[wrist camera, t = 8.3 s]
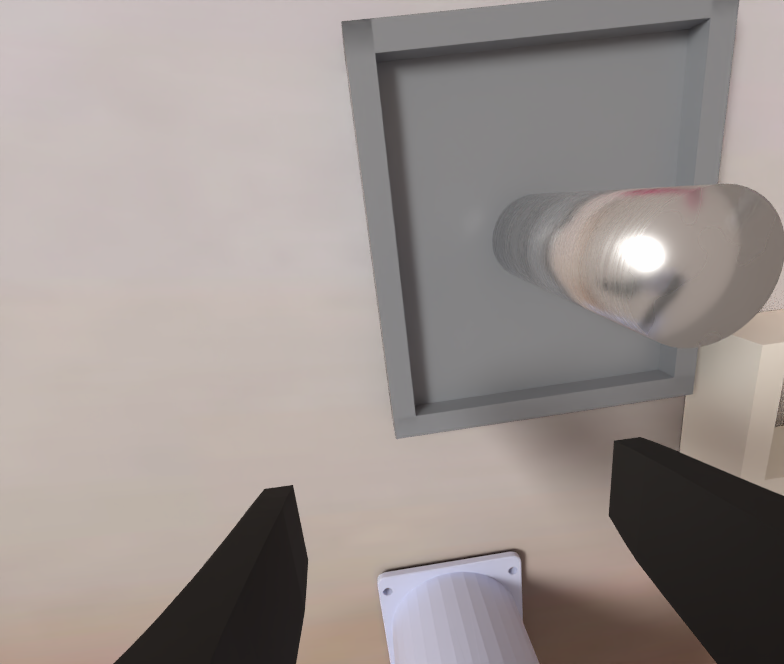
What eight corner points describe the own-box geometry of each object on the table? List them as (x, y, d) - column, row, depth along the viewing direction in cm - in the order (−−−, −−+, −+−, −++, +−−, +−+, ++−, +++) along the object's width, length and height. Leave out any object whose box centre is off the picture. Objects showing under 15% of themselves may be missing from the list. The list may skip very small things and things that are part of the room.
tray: (667, 380, 21) (692, 394, 19) (392, 421, 20) (395, 438, 18) (704, 2, 16) (741, -20, 14) (342, 40, 15) (341, 21, 14)
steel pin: (573, 272, 18) (771, 335, 9) (494, 284, 18) (623, 359, 9) (573, 188, 17) (797, 173, 8) (490, 199, 17) (630, 196, 8)
